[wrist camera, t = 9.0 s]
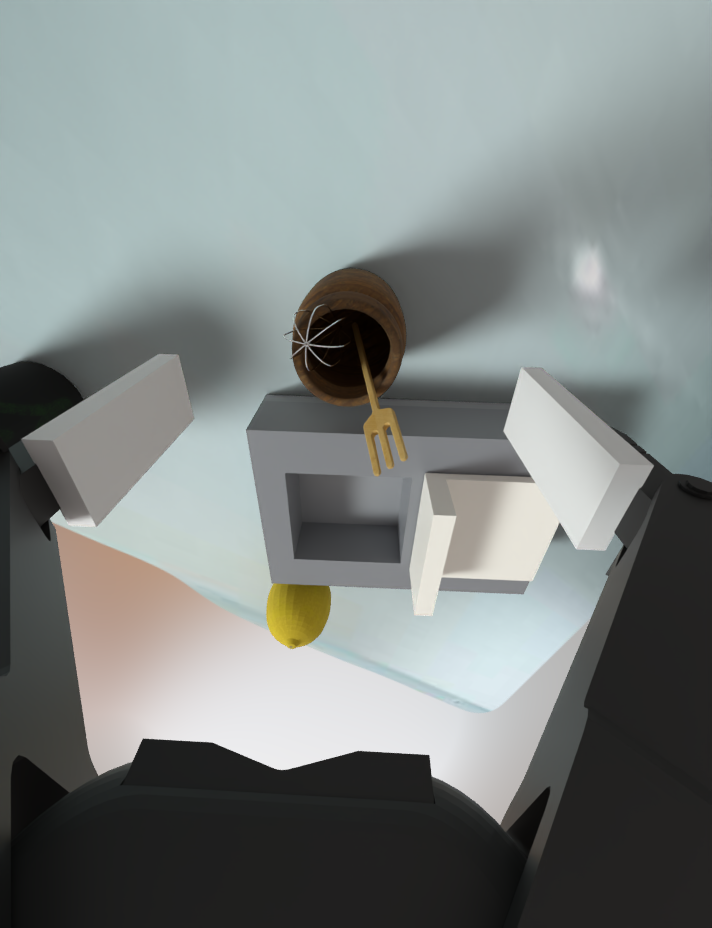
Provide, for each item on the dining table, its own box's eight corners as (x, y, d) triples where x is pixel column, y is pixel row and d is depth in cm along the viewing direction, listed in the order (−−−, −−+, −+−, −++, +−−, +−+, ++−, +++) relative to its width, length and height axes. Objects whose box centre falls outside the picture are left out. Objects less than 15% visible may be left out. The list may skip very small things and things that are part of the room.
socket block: (266, 394, 25) (246, 429, 21) (556, 405, 25) (592, 442, 21) (284, 537, 33) (271, 583, 29) (504, 546, 33) (523, 594, 29)
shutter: (425, 472, 22) (433, 515, 19) (572, 478, 22) (605, 522, 19) (409, 569, 28) (414, 615, 24) (529, 574, 27) (549, 621, 24)
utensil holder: (362, 240, 20) (354, 267, 10) (422, 335, 23) (461, 429, 13) (283, 308, 22) (213, 386, 12) (347, 388, 25) (332, 503, 15)
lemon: (296, 538, 33) (277, 618, 27) (345, 563, 35) (339, 644, 28) (267, 569, 36) (244, 649, 29) (314, 591, 38) (302, 672, 31)
